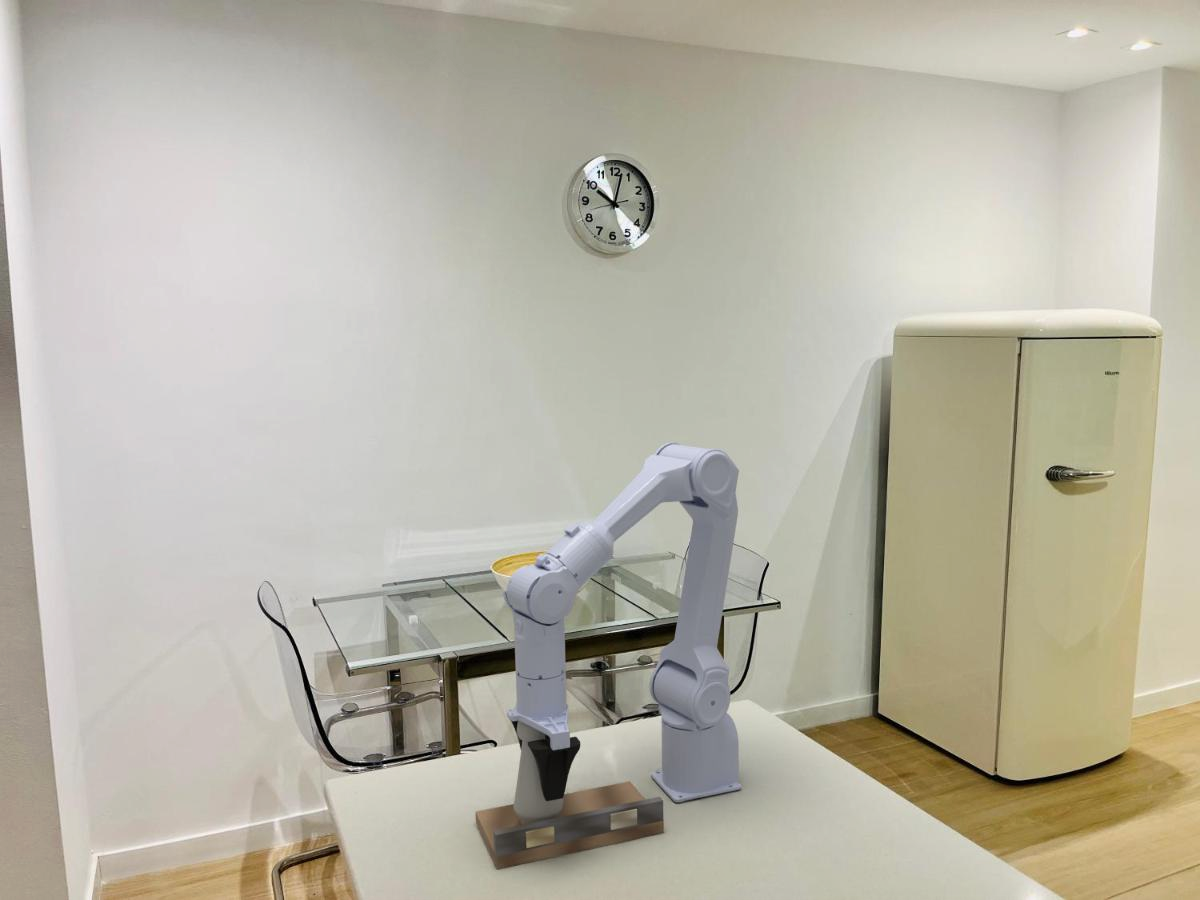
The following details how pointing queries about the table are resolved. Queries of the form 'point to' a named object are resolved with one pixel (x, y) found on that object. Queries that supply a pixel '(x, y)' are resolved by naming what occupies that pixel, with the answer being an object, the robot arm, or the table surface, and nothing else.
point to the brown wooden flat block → (571, 825)
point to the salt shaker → (532, 783)
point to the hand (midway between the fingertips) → (544, 783)
